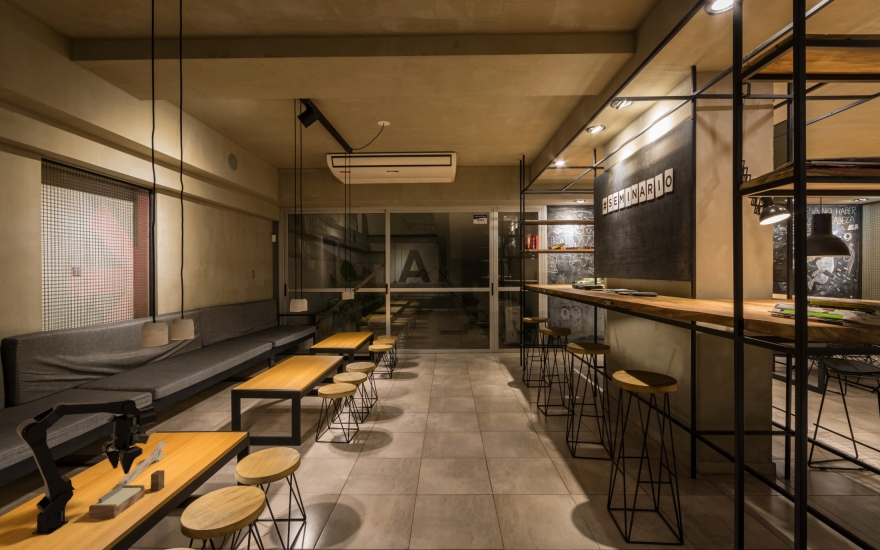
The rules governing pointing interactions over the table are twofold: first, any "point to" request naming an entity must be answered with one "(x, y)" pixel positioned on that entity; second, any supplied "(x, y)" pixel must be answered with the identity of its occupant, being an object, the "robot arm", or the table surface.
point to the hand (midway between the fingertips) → (120, 471)
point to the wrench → (144, 464)
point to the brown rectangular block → (157, 480)
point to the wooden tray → (115, 505)
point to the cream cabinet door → (117, 496)
